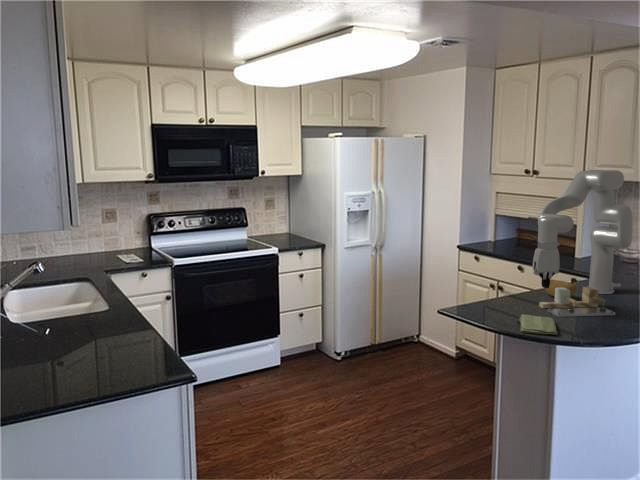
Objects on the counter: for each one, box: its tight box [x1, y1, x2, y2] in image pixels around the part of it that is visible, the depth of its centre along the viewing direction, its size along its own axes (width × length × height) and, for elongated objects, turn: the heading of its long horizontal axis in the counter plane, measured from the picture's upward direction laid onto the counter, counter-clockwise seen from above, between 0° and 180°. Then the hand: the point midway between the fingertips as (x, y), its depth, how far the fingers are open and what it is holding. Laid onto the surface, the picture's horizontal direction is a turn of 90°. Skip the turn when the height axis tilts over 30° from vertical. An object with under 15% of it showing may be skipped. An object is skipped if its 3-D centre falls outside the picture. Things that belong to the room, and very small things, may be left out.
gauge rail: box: [538, 286, 606, 309], centre depth 226 cm, size 25×12×8 cm, turn 95°
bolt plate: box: [546, 306, 617, 318], centre depth 221 cm, size 25×8×2 cm, turn 95°
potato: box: [544, 278, 578, 298], centre depth 245 cm, size 10×14×8 cm
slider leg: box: [553, 287, 577, 307], centre depth 225 cm, size 4×12×6 cm, turn 5°
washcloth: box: [519, 314, 559, 336], centre depth 202 cm, size 13×18×3 cm
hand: (545, 287), depth 228 cm, fingers closed
